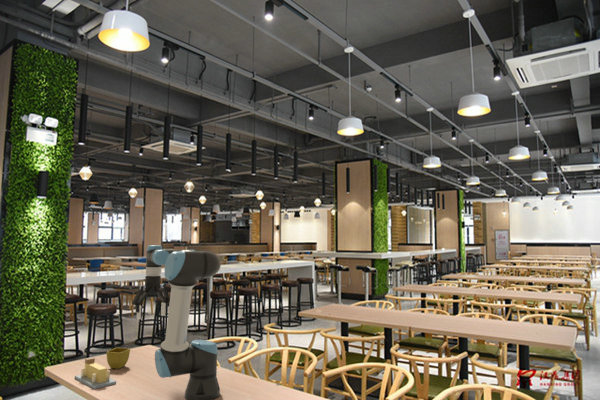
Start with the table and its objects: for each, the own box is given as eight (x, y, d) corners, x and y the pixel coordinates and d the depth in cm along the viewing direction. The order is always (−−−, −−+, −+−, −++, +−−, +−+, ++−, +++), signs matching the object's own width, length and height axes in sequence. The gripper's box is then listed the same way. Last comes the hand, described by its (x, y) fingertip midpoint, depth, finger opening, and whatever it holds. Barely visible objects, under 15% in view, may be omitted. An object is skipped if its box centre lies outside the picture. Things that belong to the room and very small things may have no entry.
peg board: (116, 383, 195) (116, 372, 196) (94, 389, 188) (95, 377, 188) (95, 373, 209) (96, 363, 210) (74, 378, 202) (75, 367, 202)
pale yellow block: (106, 381, 195) (107, 363, 196) (98, 383, 192) (99, 365, 193) (91, 373, 205) (92, 357, 206) (84, 375, 203) (85, 358, 203)
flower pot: (119, 370, 215) (120, 352, 216) (104, 369, 217) (105, 351, 218) (129, 365, 224) (130, 348, 225) (115, 364, 225) (116, 347, 226)
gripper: (170, 273, 225) (168, 313, 223) (126, 276, 206) (123, 319, 204) (178, 274, 220) (176, 315, 218) (134, 277, 201) (131, 321, 199)
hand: (151, 317), depth 211 cm, fingers open, 13 cm apart
